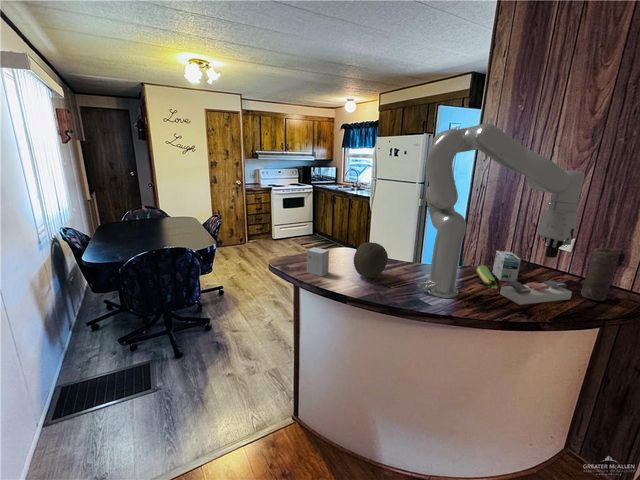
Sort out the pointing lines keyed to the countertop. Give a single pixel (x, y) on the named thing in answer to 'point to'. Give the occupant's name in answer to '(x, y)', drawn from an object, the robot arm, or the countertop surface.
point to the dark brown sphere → (370, 259)
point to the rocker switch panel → (536, 294)
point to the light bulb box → (506, 266)
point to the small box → (317, 261)
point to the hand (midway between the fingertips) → (550, 256)
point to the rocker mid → (537, 285)
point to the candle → (600, 273)
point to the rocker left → (519, 287)
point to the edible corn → (486, 276)
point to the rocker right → (554, 284)
